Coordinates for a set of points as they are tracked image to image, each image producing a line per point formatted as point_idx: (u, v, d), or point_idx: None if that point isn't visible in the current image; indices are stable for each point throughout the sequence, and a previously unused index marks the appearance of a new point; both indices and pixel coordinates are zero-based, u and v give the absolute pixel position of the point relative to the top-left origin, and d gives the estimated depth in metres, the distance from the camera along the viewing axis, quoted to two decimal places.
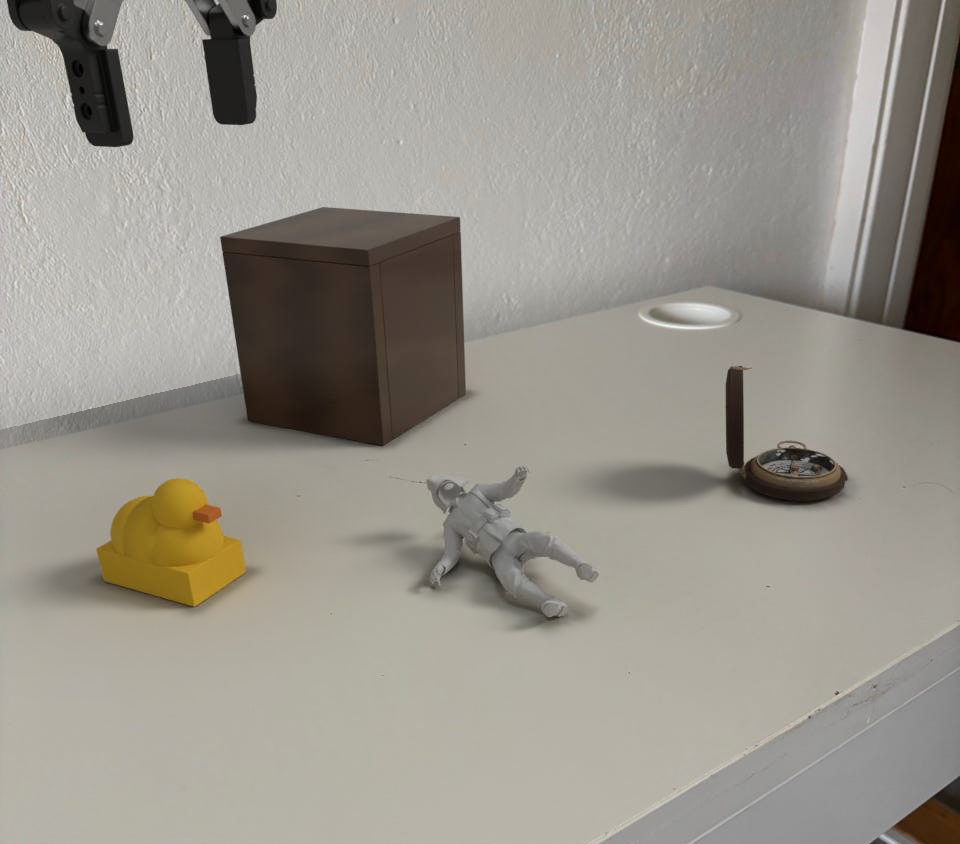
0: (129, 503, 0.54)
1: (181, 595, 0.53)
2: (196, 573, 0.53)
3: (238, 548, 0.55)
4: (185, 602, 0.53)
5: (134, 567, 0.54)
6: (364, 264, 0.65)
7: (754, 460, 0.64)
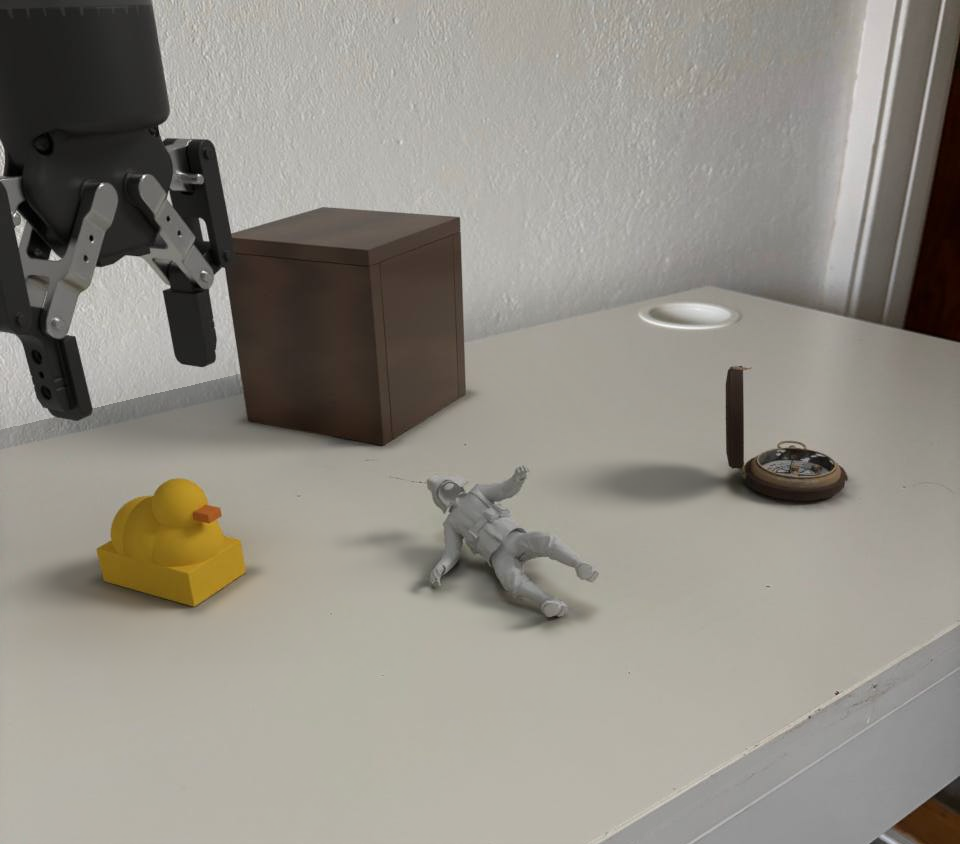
0: (129, 503, 0.54)
1: (181, 595, 0.53)
2: (196, 573, 0.53)
3: (238, 548, 0.55)
4: (185, 602, 0.53)
5: (134, 567, 0.54)
6: (364, 264, 0.65)
7: (754, 460, 0.64)
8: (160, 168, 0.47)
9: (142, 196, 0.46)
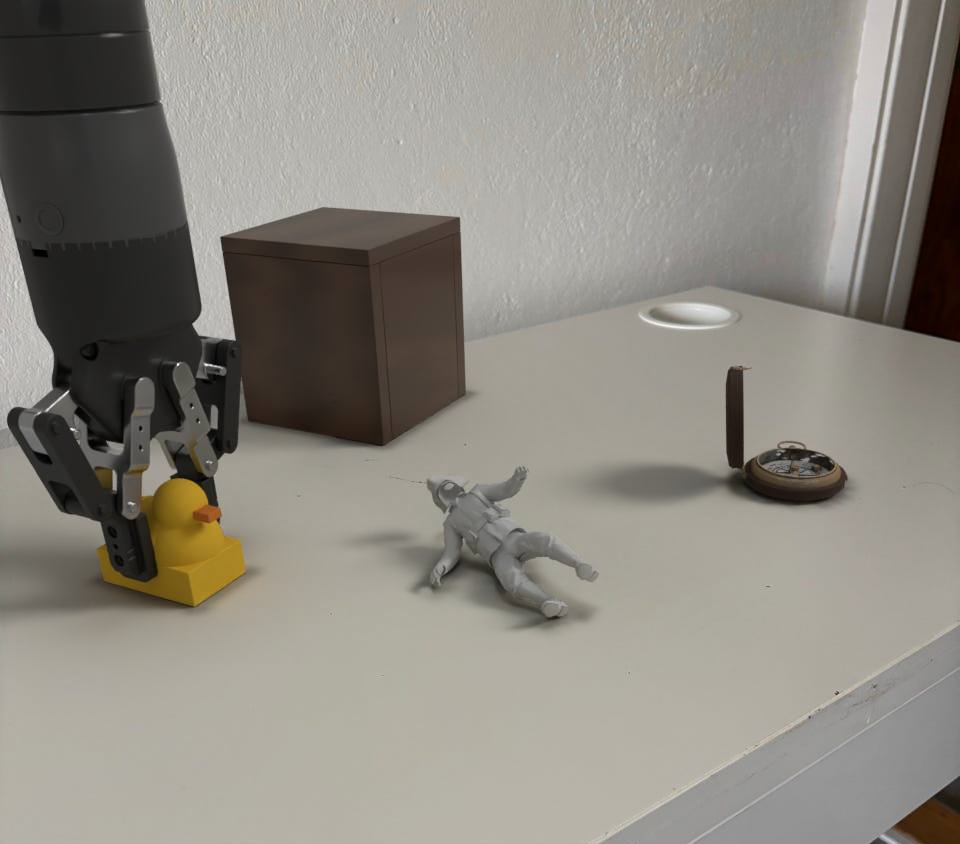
0: None
1: (181, 595, 0.53)
2: (196, 573, 0.53)
3: (238, 548, 0.55)
4: (185, 602, 0.53)
5: None
6: (364, 264, 0.65)
7: (754, 460, 0.64)
8: (191, 351, 0.52)
9: (175, 382, 0.50)
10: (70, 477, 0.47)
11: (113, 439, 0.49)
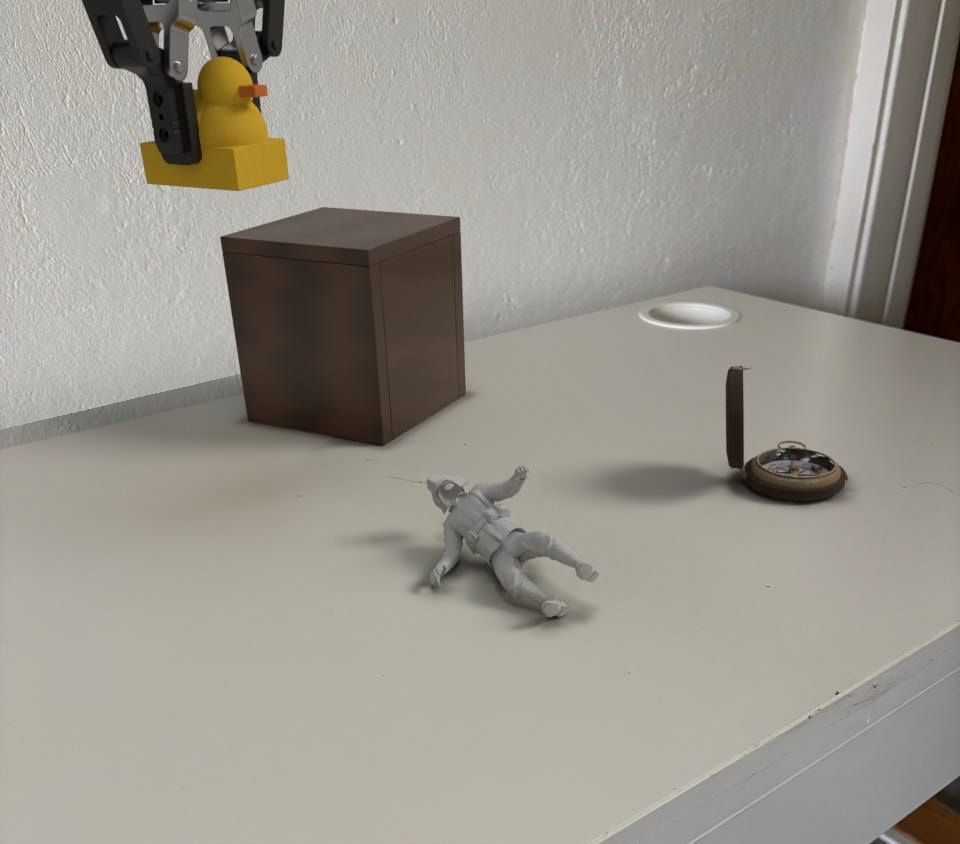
0: None
1: (225, 179, 0.53)
2: (241, 153, 0.52)
3: (282, 147, 0.55)
4: (229, 187, 0.53)
5: None
6: (364, 264, 0.65)
7: (754, 460, 0.64)
8: None
9: None
10: (119, 1, 0.46)
11: None
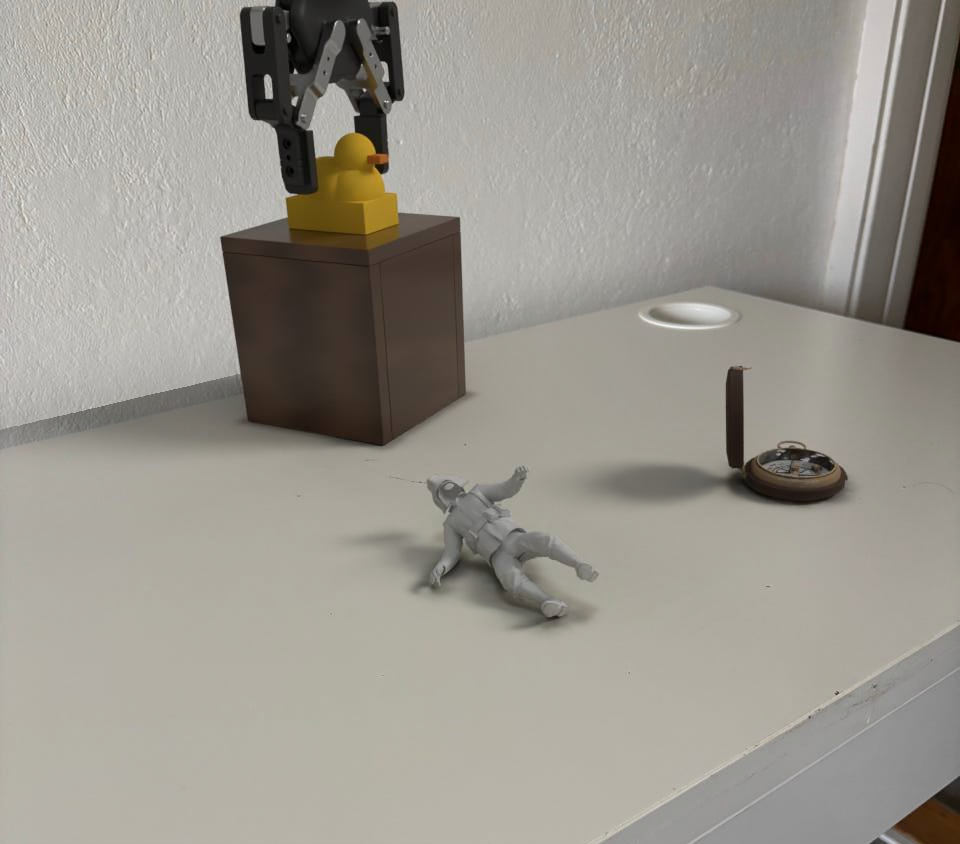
0: None
1: (355, 226, 0.69)
2: (368, 206, 0.68)
3: (395, 199, 0.71)
4: (358, 232, 0.69)
5: (317, 208, 0.69)
6: (364, 264, 0.65)
7: (754, 460, 0.64)
8: (366, 18, 0.67)
9: (358, 34, 0.65)
10: (275, 64, 0.60)
11: None
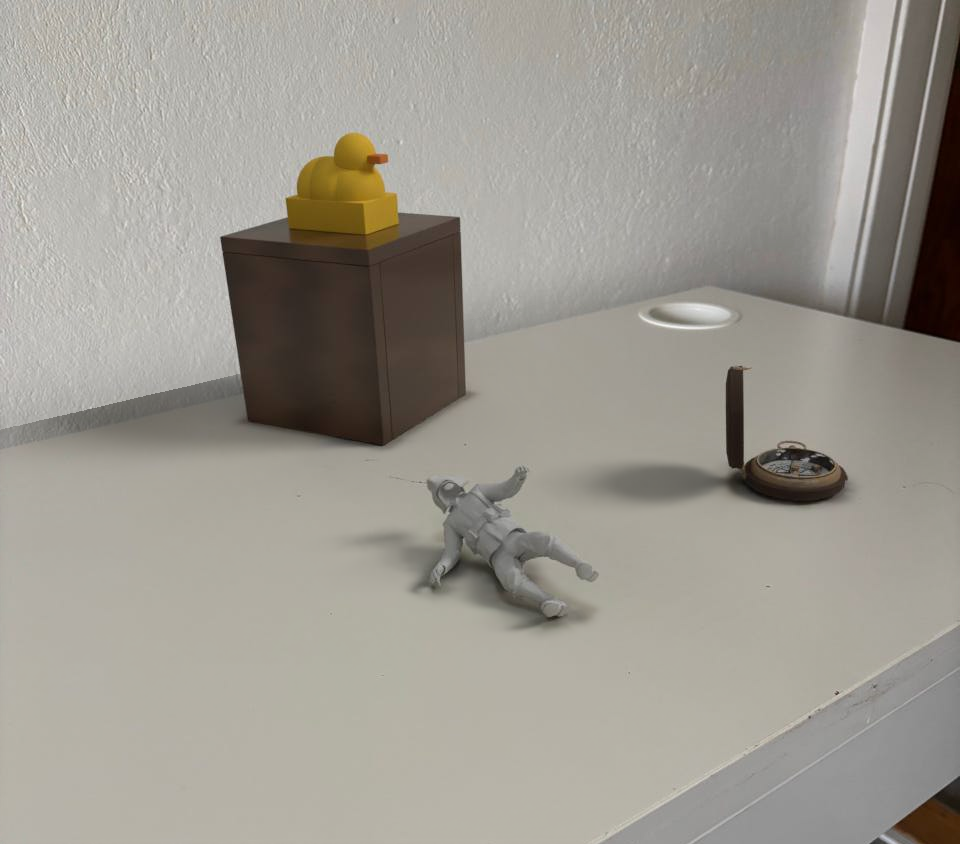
0: None
1: (355, 226, 0.69)
2: (368, 206, 0.68)
3: (395, 199, 0.71)
4: (358, 232, 0.69)
5: (317, 208, 0.69)
6: (364, 264, 0.65)
7: (754, 460, 0.64)
8: None
9: None
10: None
11: None
